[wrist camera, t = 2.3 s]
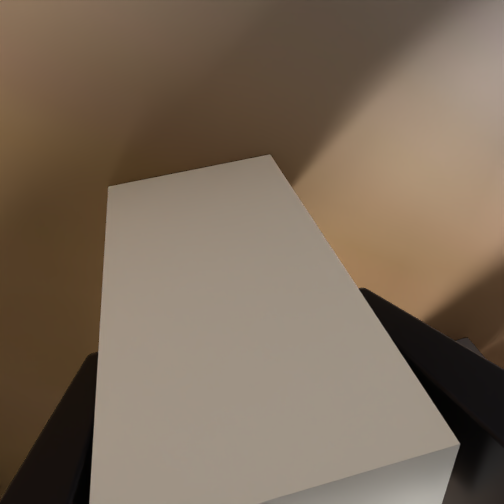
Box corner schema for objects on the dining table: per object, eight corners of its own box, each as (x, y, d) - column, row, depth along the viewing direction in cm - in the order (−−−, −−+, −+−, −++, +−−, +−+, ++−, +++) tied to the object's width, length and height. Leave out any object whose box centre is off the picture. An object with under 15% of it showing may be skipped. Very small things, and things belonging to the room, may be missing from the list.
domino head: (275, 209, 15) (439, 511, 7) (126, 241, 15) (129, 608, 7) (269, 154, 14) (460, 443, 6) (108, 186, 13) (86, 553, 6)
